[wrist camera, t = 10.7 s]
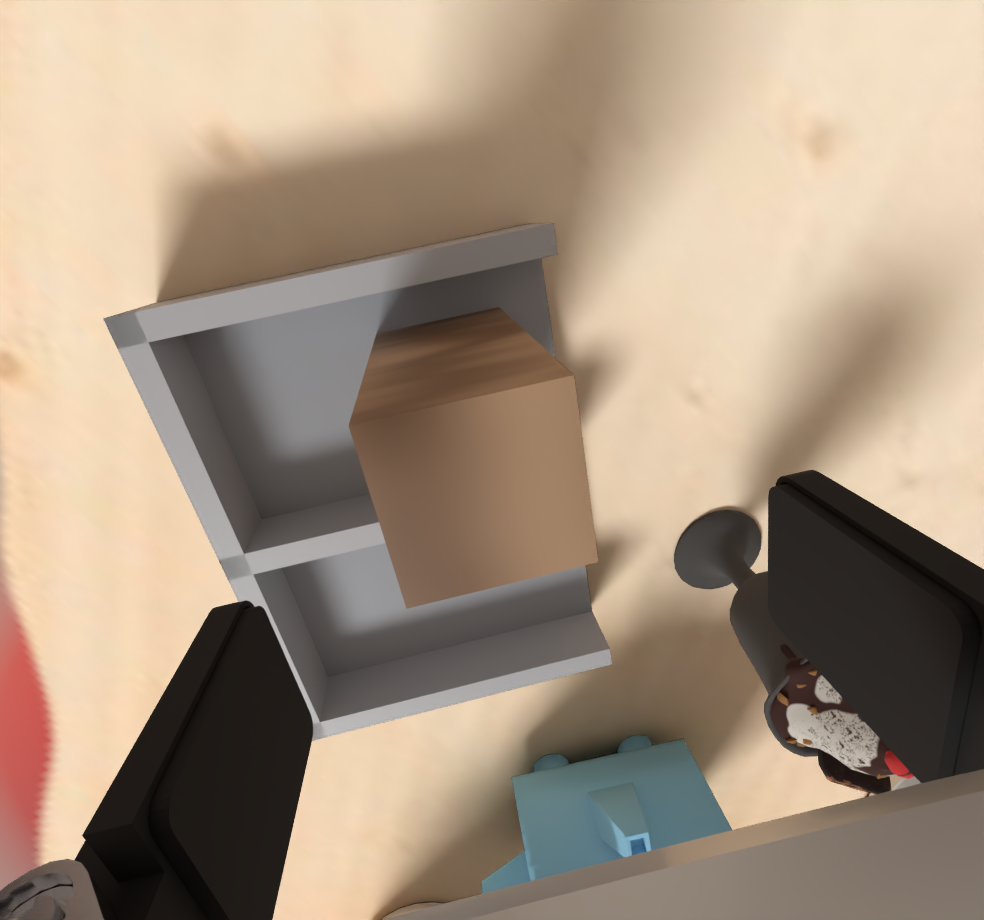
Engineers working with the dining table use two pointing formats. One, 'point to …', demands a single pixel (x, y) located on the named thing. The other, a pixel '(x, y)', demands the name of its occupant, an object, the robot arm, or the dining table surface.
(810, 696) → the sundae
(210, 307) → the grey divided tray
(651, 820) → the teapot
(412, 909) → the soda can
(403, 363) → the walnut block
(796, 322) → the dining table surface
